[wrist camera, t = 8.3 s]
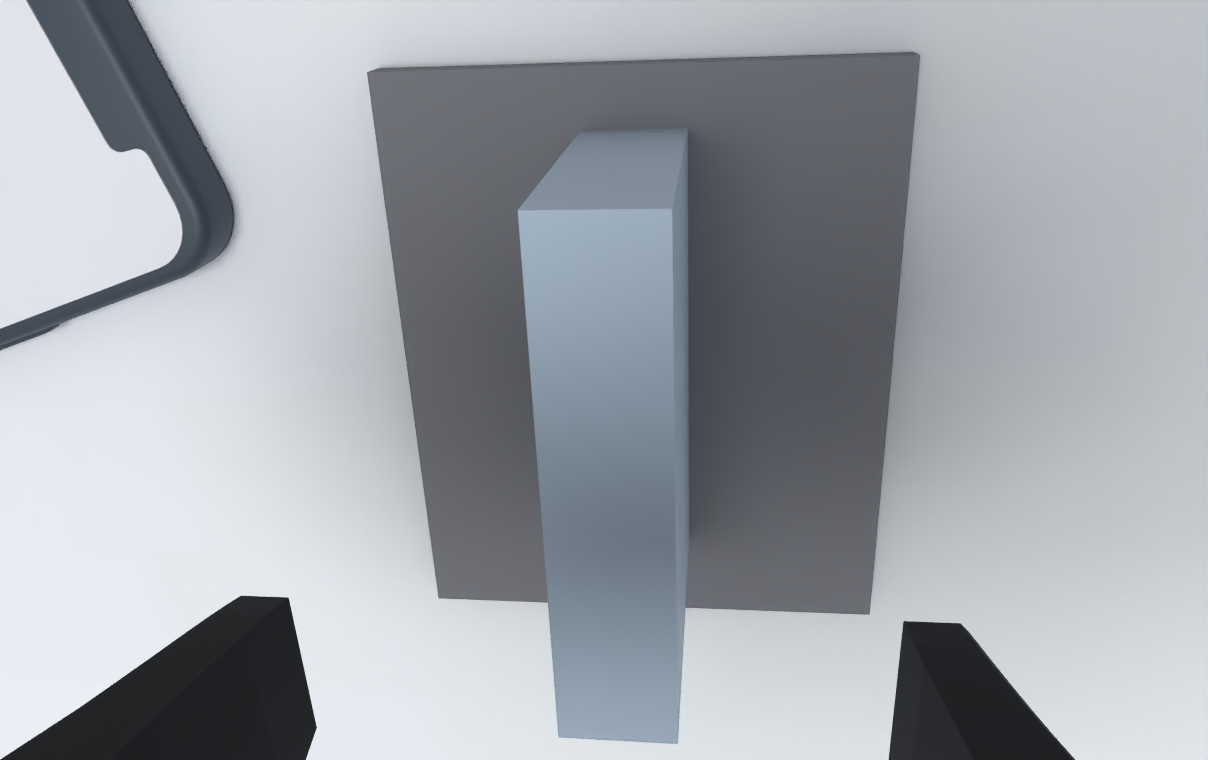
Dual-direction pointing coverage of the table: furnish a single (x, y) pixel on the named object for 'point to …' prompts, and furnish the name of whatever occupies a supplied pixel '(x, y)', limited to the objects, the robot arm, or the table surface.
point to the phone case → (94, 167)
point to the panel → (612, 424)
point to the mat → (715, 305)
